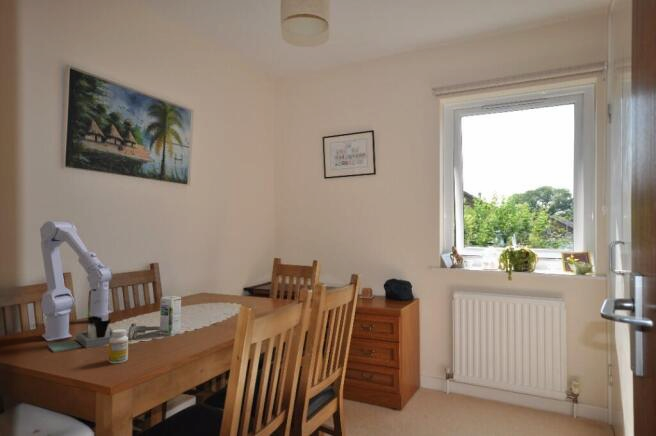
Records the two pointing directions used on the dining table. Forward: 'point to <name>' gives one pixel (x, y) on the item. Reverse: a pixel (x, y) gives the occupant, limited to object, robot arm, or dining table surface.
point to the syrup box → (170, 315)
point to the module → (92, 331)
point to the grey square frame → (88, 343)
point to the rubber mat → (63, 346)
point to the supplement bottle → (118, 346)
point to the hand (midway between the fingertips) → (98, 337)
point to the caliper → (139, 330)
